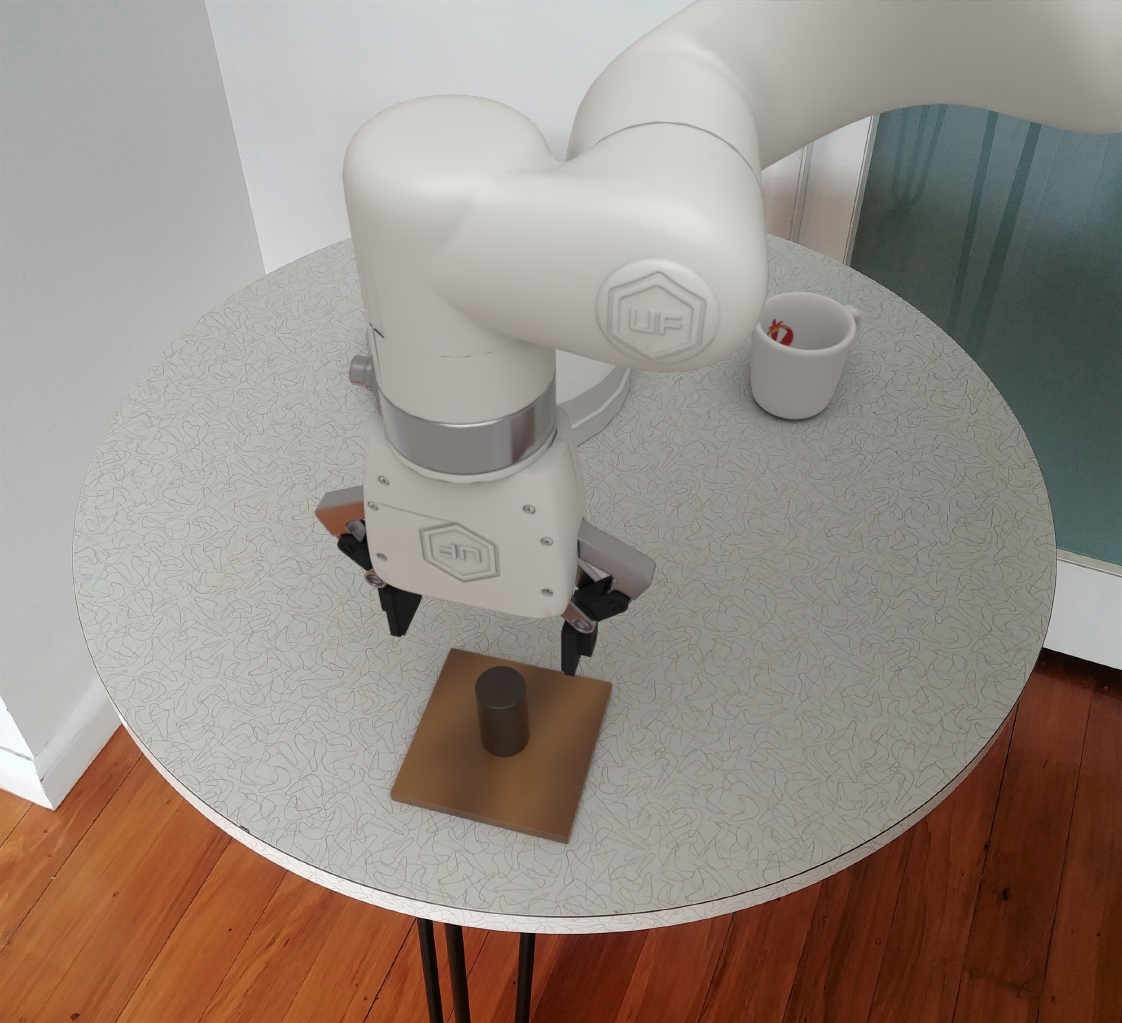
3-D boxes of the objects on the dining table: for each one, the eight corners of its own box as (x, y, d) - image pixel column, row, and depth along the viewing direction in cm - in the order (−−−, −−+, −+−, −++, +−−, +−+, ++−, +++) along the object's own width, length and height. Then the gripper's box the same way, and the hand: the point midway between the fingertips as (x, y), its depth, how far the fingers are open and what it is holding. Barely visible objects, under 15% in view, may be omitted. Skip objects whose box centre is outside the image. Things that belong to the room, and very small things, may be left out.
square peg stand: (612, 689, 69) (614, 631, 64) (568, 844, 62) (566, 792, 57) (452, 654, 71) (442, 595, 66) (391, 800, 64) (376, 746, 59)
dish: (319, 415, 87) (308, 368, 84) (453, 274, 101) (449, 228, 97) (561, 499, 80) (560, 451, 77) (671, 335, 94) (674, 288, 90)
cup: (813, 343, 93) (828, 266, 87) (882, 391, 88) (903, 312, 82) (721, 392, 88) (731, 314, 83) (789, 445, 84) (804, 366, 78)
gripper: (245, 420, 45) (315, 655, 57) (647, 498, 41) (629, 729, 54) (319, 315, 49) (369, 553, 62) (684, 378, 46) (659, 615, 59)
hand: (490, 635), depth 58 cm, fingers open, 9 cm apart
